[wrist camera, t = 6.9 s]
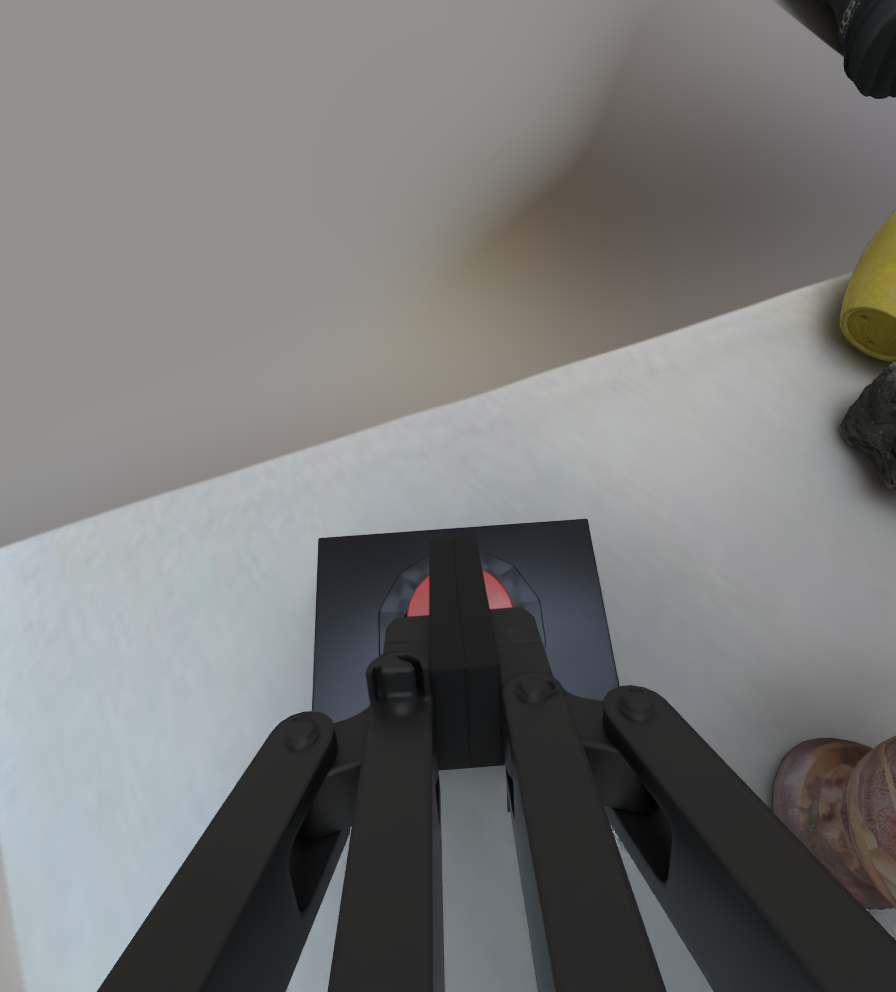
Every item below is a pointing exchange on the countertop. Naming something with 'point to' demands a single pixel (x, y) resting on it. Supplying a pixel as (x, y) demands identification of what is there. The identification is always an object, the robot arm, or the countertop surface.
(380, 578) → the control block
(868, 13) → the boot
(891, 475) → the stone
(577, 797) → the robot arm
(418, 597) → the button
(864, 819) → the mortar and pestle
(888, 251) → the flower pot
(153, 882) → the countertop surface
